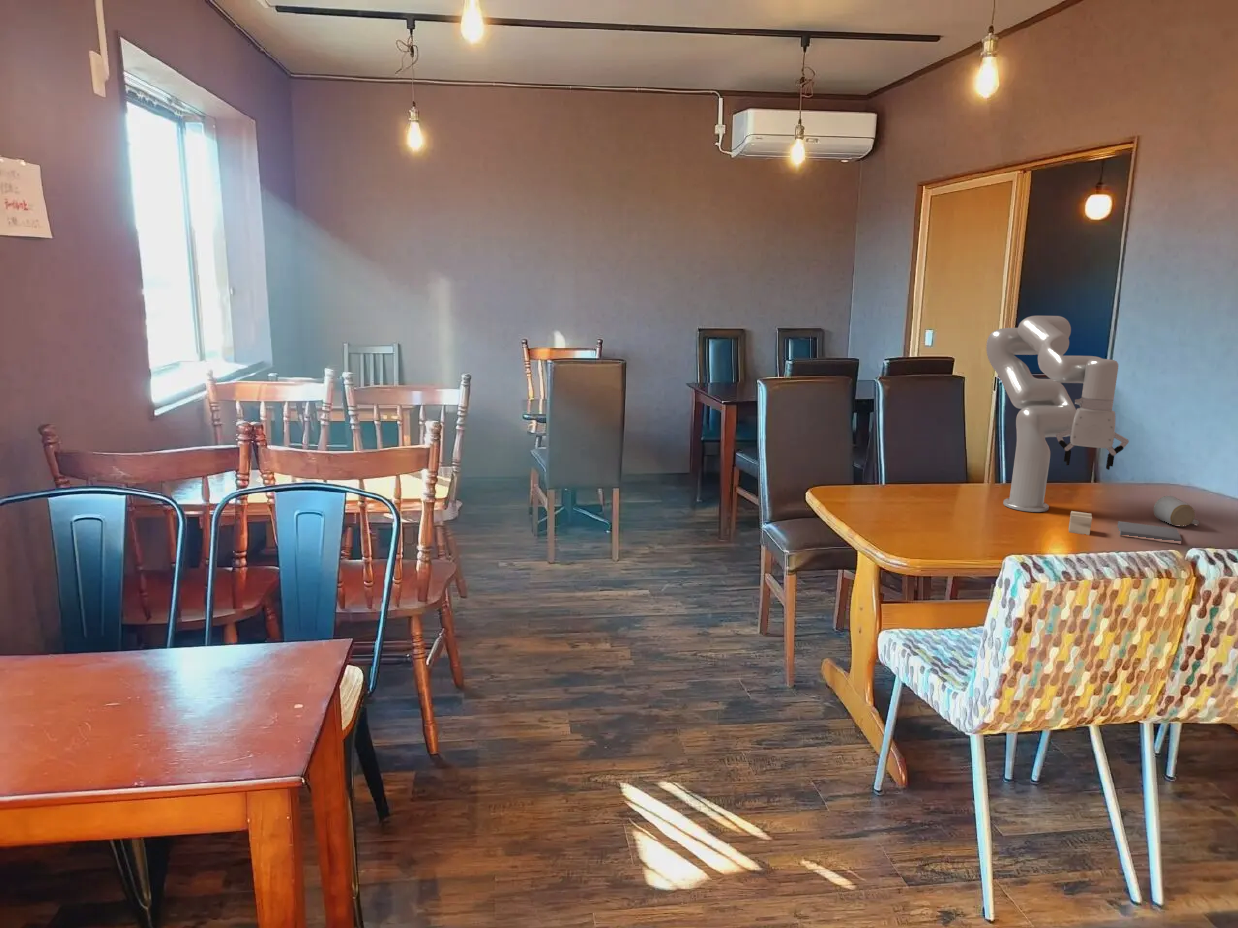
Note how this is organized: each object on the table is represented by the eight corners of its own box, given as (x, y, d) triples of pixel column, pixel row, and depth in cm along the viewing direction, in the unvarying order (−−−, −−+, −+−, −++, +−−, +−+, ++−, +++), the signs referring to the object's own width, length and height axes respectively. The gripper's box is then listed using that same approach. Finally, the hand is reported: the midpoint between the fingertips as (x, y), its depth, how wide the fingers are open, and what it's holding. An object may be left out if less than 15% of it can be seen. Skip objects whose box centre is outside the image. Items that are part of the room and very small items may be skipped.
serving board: (1117, 526, 233) (1118, 521, 232) (1175, 533, 226) (1176, 528, 226) (1120, 536, 223) (1121, 531, 223) (1180, 544, 217) (1181, 539, 217)
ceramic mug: (1169, 528, 232) (1174, 502, 230) (1150, 519, 239) (1155, 494, 238) (1205, 529, 232) (1211, 503, 230) (1185, 520, 240) (1190, 495, 238)
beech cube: (1068, 527, 231) (1071, 511, 229) (1088, 530, 228) (1091, 513, 227) (1068, 532, 226) (1071, 515, 225) (1089, 535, 224) (1092, 518, 223)
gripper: (1060, 404, 220) (1051, 465, 224) (1134, 409, 212) (1124, 473, 216) (1060, 400, 226) (1052, 460, 230) (1132, 406, 218) (1123, 467, 222)
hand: (1087, 466), depth 223 cm, fingers open, 9 cm apart
